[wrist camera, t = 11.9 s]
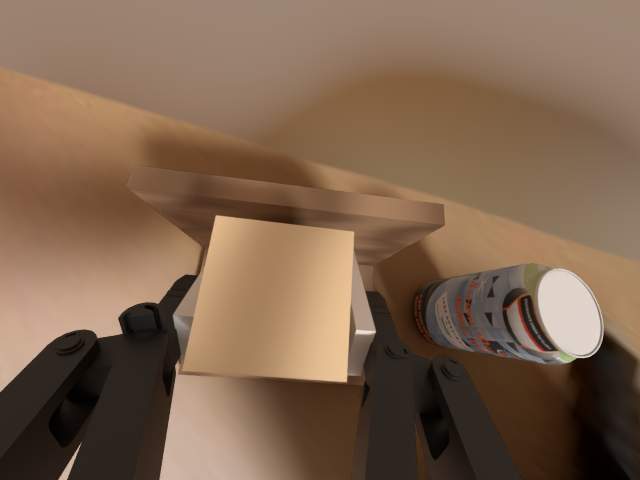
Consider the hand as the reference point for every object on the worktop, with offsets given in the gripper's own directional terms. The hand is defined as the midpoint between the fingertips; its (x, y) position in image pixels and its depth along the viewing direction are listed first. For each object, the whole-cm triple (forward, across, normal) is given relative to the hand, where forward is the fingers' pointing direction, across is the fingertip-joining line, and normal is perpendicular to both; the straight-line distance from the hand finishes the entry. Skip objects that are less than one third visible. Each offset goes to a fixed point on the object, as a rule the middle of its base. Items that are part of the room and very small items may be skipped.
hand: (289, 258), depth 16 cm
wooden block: (+4, 0, -8) cm, 9 cm away
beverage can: (+6, +15, -8) cm, 18 cm away
